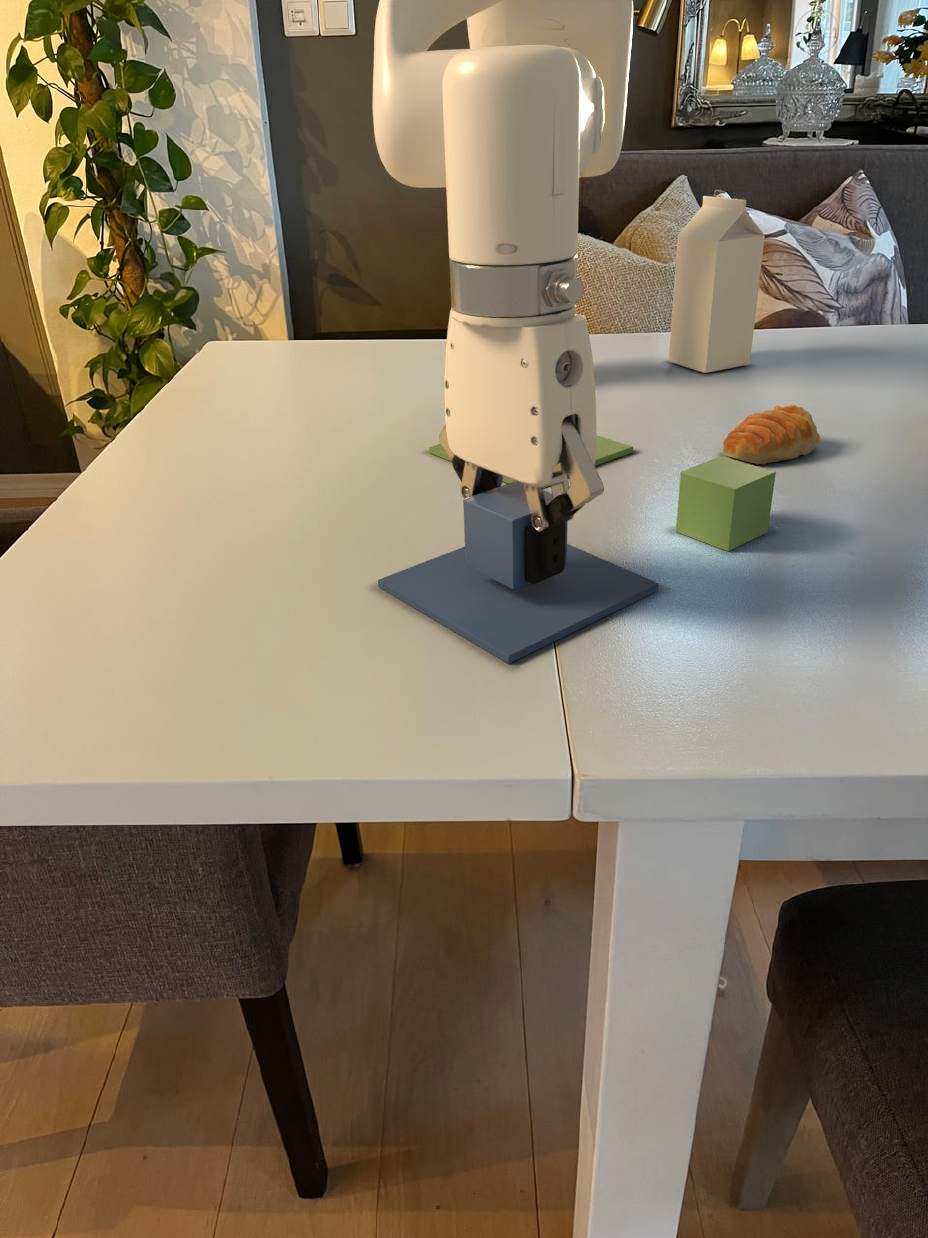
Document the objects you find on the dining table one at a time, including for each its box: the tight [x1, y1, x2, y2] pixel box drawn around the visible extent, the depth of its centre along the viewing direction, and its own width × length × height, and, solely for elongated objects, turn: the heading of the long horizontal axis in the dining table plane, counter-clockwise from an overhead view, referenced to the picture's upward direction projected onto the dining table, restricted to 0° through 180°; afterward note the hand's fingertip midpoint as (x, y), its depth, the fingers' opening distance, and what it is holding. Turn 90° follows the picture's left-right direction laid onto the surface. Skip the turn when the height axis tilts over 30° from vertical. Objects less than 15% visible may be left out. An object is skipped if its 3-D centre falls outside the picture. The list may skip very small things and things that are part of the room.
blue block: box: [462, 481, 569, 589], centre depth 63 cm, size 5×5×5 cm
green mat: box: [428, 434, 634, 484], centre depth 89 cm, size 14×14×1 cm
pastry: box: [722, 404, 821, 466], centre depth 86 cm, size 9×7×4 cm
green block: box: [675, 455, 777, 552], centre depth 71 cm, size 5×5×5 cm
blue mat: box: [377, 543, 660, 665], centre depth 65 cm, size 14×14×1 cm
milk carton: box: [668, 195, 766, 374], centre depth 110 cm, size 7×7×19 cm
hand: (515, 560), depth 64 cm, fingers closed on blue block, 5 cm apart
